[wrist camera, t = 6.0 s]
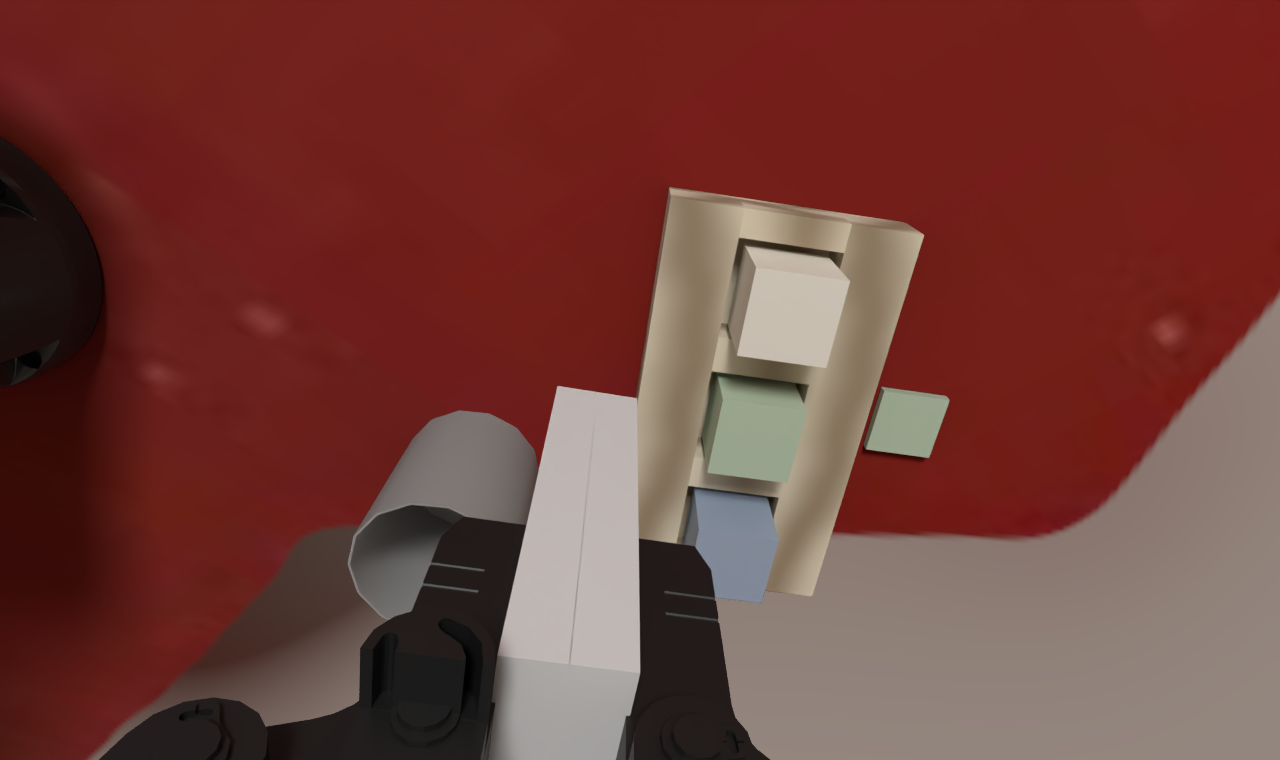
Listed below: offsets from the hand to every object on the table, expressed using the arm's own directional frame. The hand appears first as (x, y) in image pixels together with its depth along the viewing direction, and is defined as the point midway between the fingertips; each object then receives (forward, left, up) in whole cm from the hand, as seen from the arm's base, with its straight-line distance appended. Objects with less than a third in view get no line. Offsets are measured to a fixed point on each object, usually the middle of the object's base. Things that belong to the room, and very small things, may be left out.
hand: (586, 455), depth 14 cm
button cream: (+9, -3, -25) cm, 27 cm away
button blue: (+9, -18, -25) cm, 32 cm away
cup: (-7, -18, -28) cm, 34 cm away
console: (+9, -11, -27) cm, 31 cm away
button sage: (+9, -11, -27) cm, 30 cm away
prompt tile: (+19, -11, -27) cm, 35 cm away
